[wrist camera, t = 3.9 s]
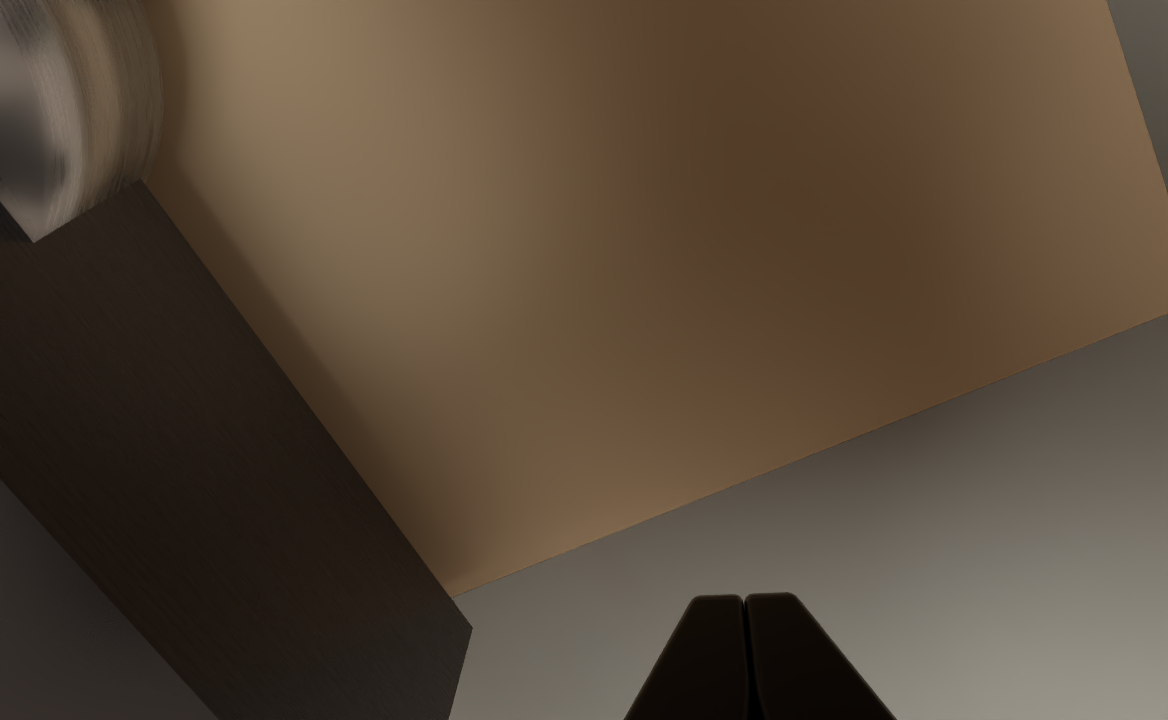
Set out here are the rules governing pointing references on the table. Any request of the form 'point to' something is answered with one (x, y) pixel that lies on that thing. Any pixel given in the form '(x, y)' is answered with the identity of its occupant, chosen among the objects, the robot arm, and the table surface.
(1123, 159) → the tuner board
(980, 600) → the table surface
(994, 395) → the table surface
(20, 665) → the peg knob
